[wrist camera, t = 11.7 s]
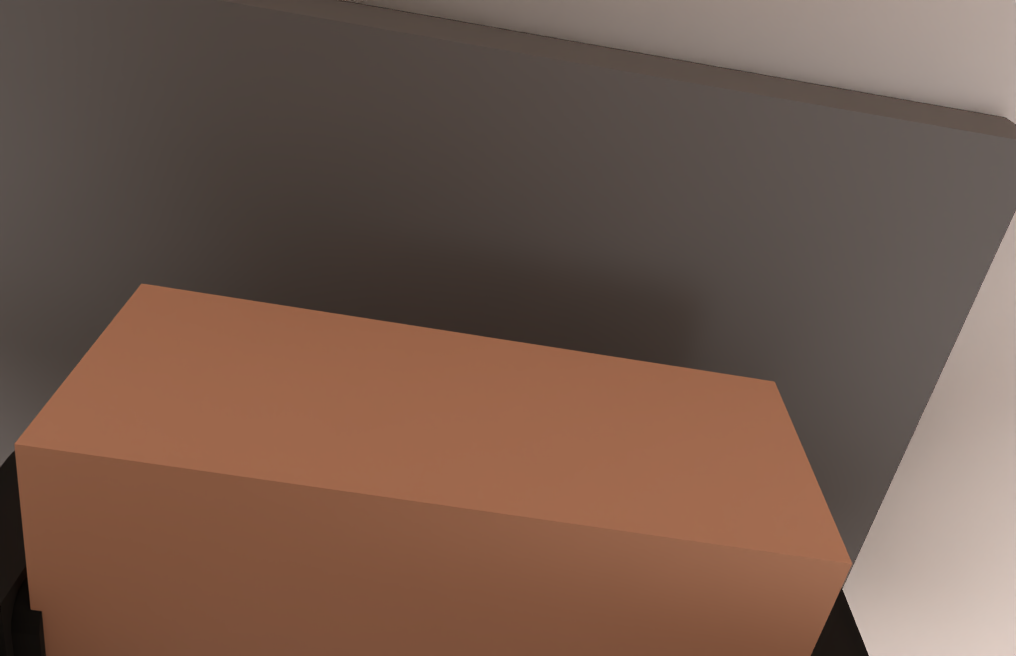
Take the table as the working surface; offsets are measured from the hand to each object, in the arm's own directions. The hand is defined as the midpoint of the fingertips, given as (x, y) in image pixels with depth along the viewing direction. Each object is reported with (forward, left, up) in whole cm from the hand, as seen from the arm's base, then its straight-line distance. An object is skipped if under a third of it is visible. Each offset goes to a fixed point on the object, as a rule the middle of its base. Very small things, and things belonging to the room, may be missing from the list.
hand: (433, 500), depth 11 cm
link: (+7, 0, +1) cm, 7 cm away
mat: (+7, 0, -2) cm, 7 cm away
